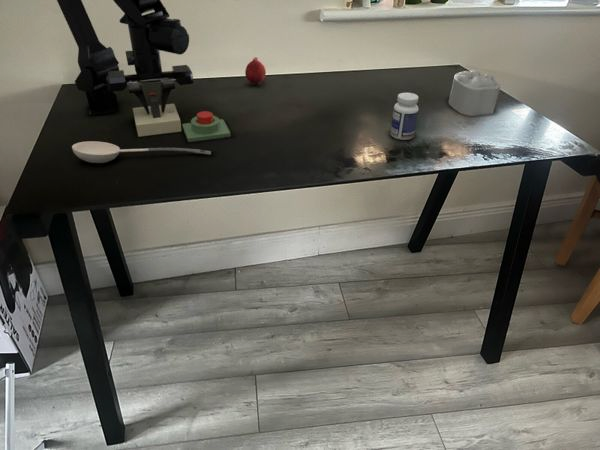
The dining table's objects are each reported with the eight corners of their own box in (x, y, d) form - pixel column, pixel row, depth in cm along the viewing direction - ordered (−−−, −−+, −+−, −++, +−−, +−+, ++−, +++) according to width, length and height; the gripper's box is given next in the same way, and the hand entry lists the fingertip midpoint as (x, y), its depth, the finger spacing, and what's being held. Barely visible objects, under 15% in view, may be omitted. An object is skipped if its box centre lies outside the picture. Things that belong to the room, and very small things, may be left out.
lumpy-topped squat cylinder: (463, 116, 128) (471, 84, 123) (440, 97, 138) (446, 67, 133) (498, 113, 130) (507, 81, 125) (473, 95, 140) (480, 65, 135)
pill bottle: (415, 132, 120) (422, 93, 114) (411, 142, 115) (419, 102, 109) (392, 128, 121) (398, 89, 115) (387, 138, 117) (393, 98, 111)
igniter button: (199, 126, 113) (198, 118, 112) (196, 119, 116) (195, 112, 115) (214, 124, 114) (213, 116, 113) (211, 118, 117) (210, 110, 116)
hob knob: (161, 117, 115) (158, 100, 113) (153, 118, 115) (150, 101, 112) (158, 109, 119) (155, 92, 117) (150, 109, 119) (148, 93, 116)
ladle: (75, 153, 105) (74, 132, 103) (208, 164, 112) (210, 145, 110) (70, 166, 100) (68, 145, 98) (209, 177, 108) (211, 157, 105)
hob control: (138, 136, 114) (135, 124, 112) (134, 119, 121) (132, 107, 119) (181, 131, 117) (180, 119, 115) (175, 114, 124) (174, 102, 122)
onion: (265, 89, 139) (264, 61, 135) (244, 88, 139) (243, 60, 135) (266, 81, 144) (266, 54, 139) (246, 81, 144) (245, 53, 139)
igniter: (188, 142, 112) (186, 130, 110) (182, 127, 118) (181, 116, 116) (230, 136, 115) (230, 125, 113) (223, 122, 121) (222, 111, 119)
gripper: (182, 33, 116) (189, 96, 126) (99, 38, 111) (113, 104, 120) (190, 47, 108) (197, 113, 117) (100, 54, 103) (115, 122, 112)
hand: (155, 112), depth 117 cm, fingers open, 3 cm apart
